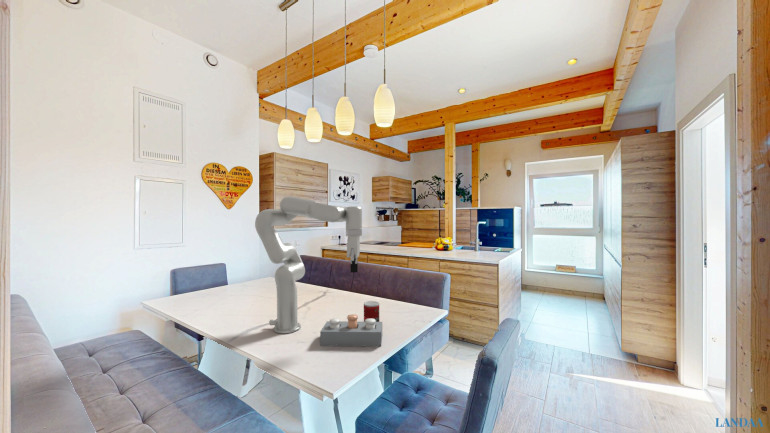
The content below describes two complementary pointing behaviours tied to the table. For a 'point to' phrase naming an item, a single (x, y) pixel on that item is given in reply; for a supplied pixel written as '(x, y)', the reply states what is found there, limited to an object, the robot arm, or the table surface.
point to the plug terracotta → (352, 321)
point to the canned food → (371, 310)
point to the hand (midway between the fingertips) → (354, 272)
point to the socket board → (351, 335)
